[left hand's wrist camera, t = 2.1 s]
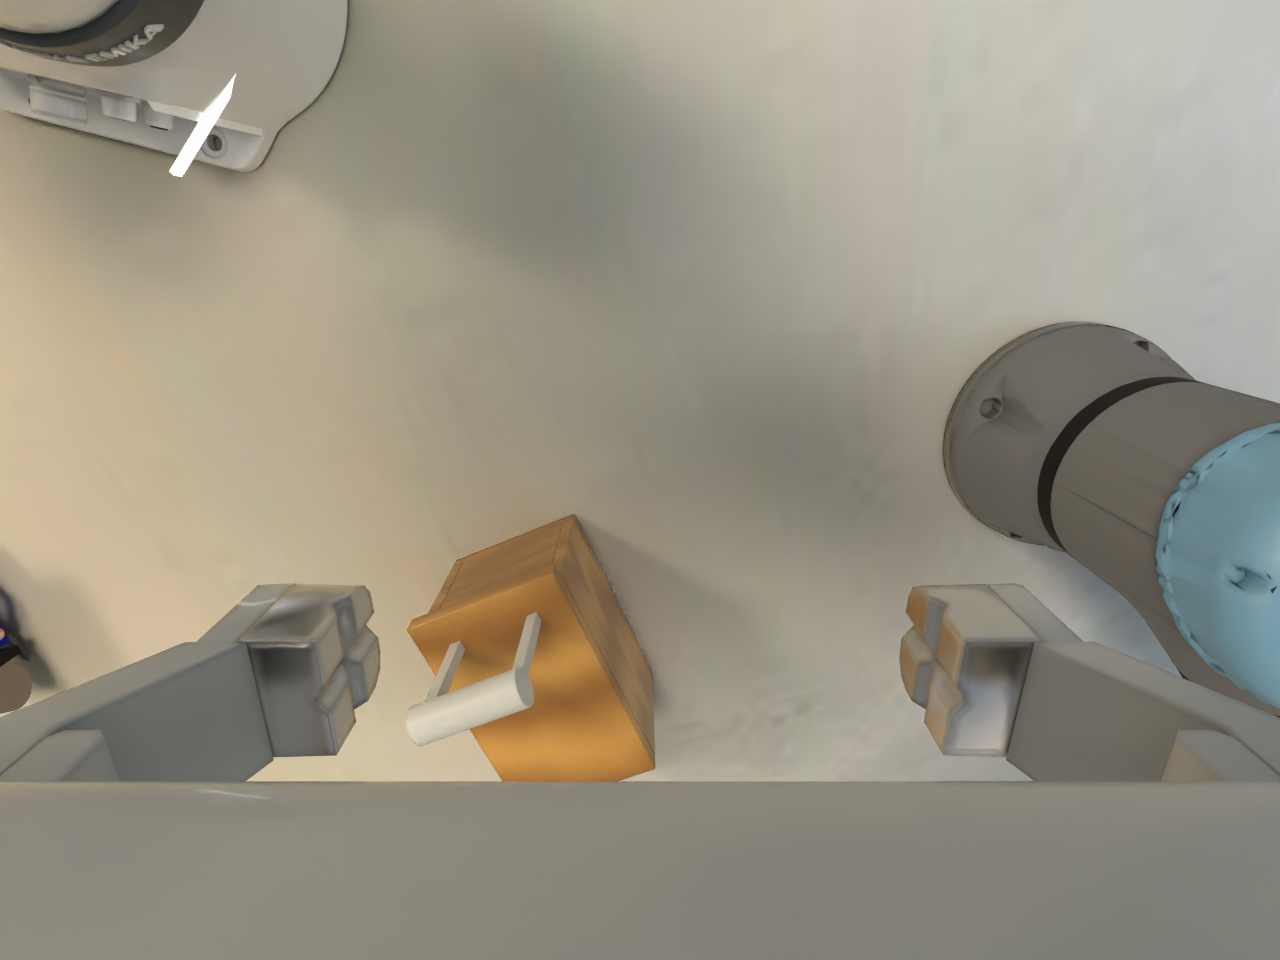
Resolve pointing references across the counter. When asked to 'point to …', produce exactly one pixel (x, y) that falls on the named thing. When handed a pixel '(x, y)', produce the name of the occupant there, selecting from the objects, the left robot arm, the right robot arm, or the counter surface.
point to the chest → (587, 589)
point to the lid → (527, 686)
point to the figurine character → (12, 674)
